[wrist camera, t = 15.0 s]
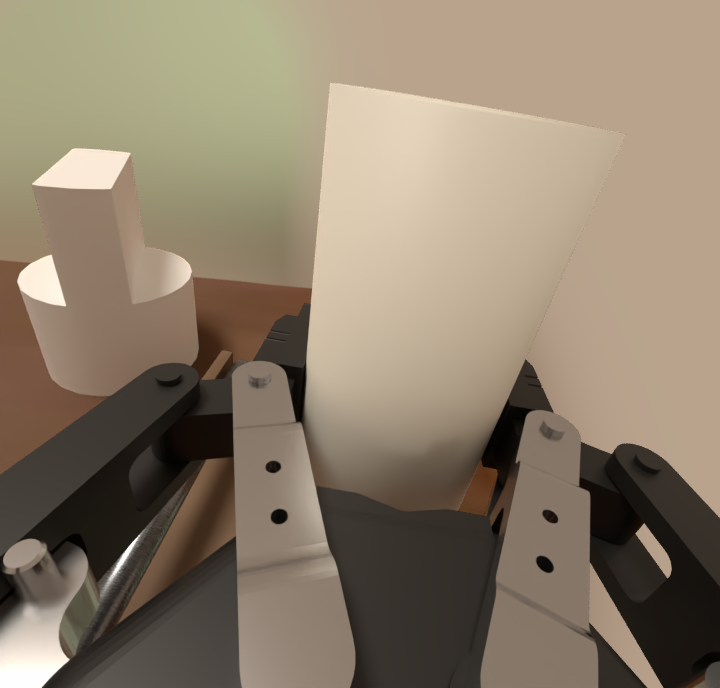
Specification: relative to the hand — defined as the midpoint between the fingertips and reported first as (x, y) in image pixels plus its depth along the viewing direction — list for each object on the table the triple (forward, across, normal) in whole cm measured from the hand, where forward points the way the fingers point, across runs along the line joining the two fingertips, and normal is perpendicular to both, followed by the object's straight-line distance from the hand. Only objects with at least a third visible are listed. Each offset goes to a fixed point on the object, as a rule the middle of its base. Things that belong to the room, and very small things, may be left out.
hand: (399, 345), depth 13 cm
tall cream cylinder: (-3, 0, +9) cm, 9 cm away
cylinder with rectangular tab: (+10, +17, +11) cm, 22 cm away
